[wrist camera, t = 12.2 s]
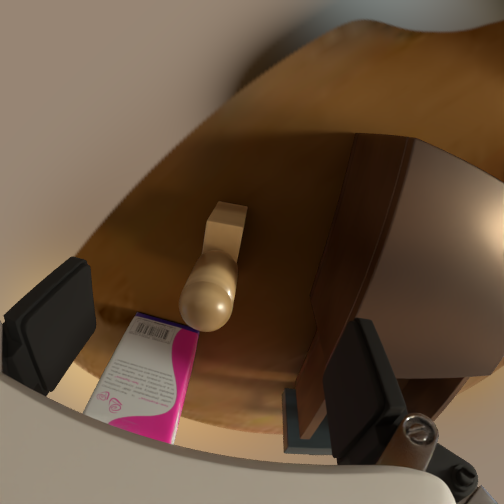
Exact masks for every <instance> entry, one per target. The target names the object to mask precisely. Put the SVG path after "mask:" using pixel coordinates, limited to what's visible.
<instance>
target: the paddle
mask: <svg viewBox="0 0 504 504" xmlns="http://www.w3.org/2000/svg"><path fill="white" fill-rule="evenodd" d="M247 209H248V207H247V206H242V205H237V204H232V203H226V202H221V201H219V202H218V203H217V205H216V207H215V208H214V210H213V212H212V213H211V215H210V217H209V218H208V220H207V223H206V229H205V236H204V243H203V250H202V255H201V256H200V257H199V258H198V260H197V261H196V263H195V265H194V267H193V269H192V272H191V274H190V276H189V278H188V280H187V282H186V284H185V286H184V288H183V291H182V293H181V295H180V299H179V310H180V314H181V316H182V318H183V320H184V321H185V322H186V323H187V324H188V325H189V326H190V327H192V328H193V329H196V330H198V331H203V332H210V331H214V330H217V329H219V328H220V327H222V326H223V325H224V324H225V323H226V322H227V321H228V319H229V318H230V316H231V313H232V309H233V303H234V297H235V291H236V285H237V279H238V266H237V260H238V254H239V249H240V244H241V239H242V234H243V229H244V224H245V219H246V214H247Z"/></svg>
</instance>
